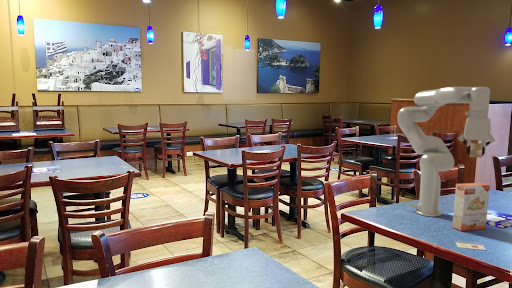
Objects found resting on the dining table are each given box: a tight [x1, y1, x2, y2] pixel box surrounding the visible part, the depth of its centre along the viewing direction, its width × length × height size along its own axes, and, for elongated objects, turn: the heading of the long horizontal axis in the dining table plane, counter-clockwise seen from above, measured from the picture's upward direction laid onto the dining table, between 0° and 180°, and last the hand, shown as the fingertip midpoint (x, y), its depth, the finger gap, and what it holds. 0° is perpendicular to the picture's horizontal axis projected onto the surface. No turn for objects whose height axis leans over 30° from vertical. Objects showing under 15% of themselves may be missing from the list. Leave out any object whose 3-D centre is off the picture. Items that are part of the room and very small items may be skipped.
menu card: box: [454, 240, 487, 251], centre depth 156 cm, size 10×7×1 cm
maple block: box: [469, 142, 483, 159], centre depth 173 cm, size 4×4×6 cm
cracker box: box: [451, 182, 491, 232], centre depth 176 cm, size 14×6×21 cm, turn 105°
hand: (475, 155), depth 173 cm, fingers closed on maple block, 4 cm apart
